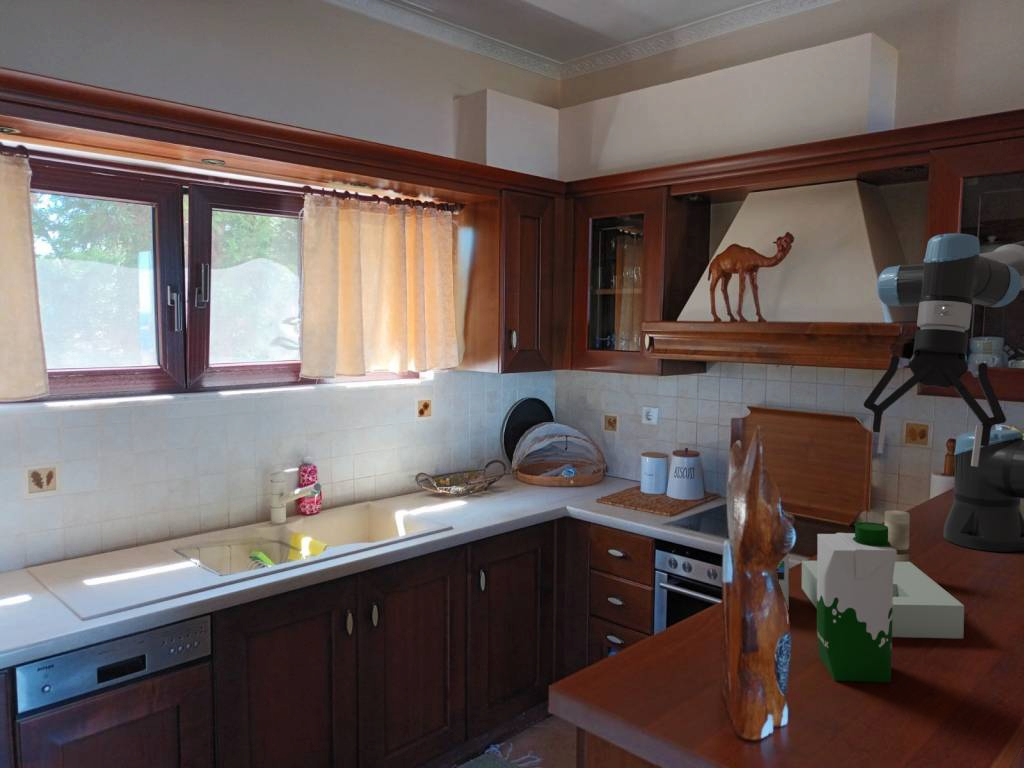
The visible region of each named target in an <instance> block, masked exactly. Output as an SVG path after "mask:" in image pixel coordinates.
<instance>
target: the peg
mask: <svg viewBox="0 0 1024 768" xmlns="http://www.w3.org/2000/svg"><path fill="white" fill-rule="evenodd" d="M910 517H911V515H910V513H909V512H907V511H903V510H897V509H896V510H895V509H894V510H893V509H892V510H886V511H884V525H885V526H887V527H888V541H889V542H890V544H891V546H893V547H894V549H895V550H896V551H897V553H896V560H895V562H910V561H909V560H910V523H911V522H910Z"/></svg>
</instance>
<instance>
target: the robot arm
mask: <svg viewBox="0 0 1024 768" xmlns="http://www.w3.org/2000/svg"><path fill="white" fill-rule="evenodd" d="M980 243H981V242H980V240H979V238H978V237H977V236H975V235H972V234H968V233H955V232H954V233H944V234H943V233H942V234H937V235H935V236H933V237H931V238H930V239H929V240H928V242H927V246H926V251H925V256H924V258H923V262H922V263H915V264H905V265H904V264H899V265H897V266H896V265H895V266H894V265H893V266H889V267H886V268H885V269H883V270H882V272H881V273H880V274H879V275H878V278H877V282H876V286H877V295H878V298H879V299H880V301H881V302H882V303H883V304H884V305H886V306H890V307H900V308H902V307H910V306H911V307H913V306H915V307H917V306H918V313H917V320H916V326H917V327H918V328H919V329H918V330H917V331H915V335H914V342H913V353H912V356H911V357H910V358H905V357H904V358H903V357H899V356H898V355H893V356H891V359H890V363H889V367H888V369H887V370H886V371H885V373H884V375H883V376H882V377H881V379H879V381H878V383H877V384H876V385H875V387H874V388H873V390H872V391H871V393H869V395H868V396H867V398H866V399H865V401H863V407H864V408H866V409H867V410H870V411H872V412H873V424H872V432H873V433H877V434H878V433H879V434H878V435H879V437H878V444H877V454H881V455H882V454H883V452H884V446H885V439H886V438H885V437H886V429H887V424H888V423H887V422H888V414H884V411H886V410H887V409H889V407H891V406H892V405H893V404H894V403H896V402H897V401H898V400H899V399H900V398H902V396H904V395H905V394H907V393H908V392H909V391H911V389H912V388H914V387H915V386H916V385H918V383H919V384H920V385H921V386H924V387H938V388H940V389H941V388H943V389H946V388H950V387H953V388H954V390H955V392H957V393H958V395H959V396H960V397H961V399H962V400H963V401H964V403H965V404H966V405H967V406H968V408H969V409H970V410H971V412H972V413H973V414H974V415H975V416H976V418H977V420H979V421H980V422H981V425H979V424H978V425H977V424H976V425H975V431H967V432H964V433H961V434H960V435H959V434H958V436H957V438H956V440H955V448H954V453H953V455H954V489H953V490H954V492H953V494H954V495H953V496H954V497H953V504H952V505H951V508H950V511H949V513H948V516H947V518H946V521H945V523H944V525H943V538H944V539H945V540H946V541H947V542H950V543H951V544H954V545H957V546H961V547H965V548H968V549H973V550H980V551H988V552H1004V553H1005V552H1006V553H1007V552H1010V553H1011V552H1020V551H1024V515H1023V511H1022V509H1021V499H1024V434H1023V431H1021V430H1016V429H992V427H993V426H995V425H999V424H1001V425H1002V424H1005V422H1007V418H1006V416H1005V413H1004V411H1003V408H1002V406H1001V404H1000V402H999V399H998V398H997V395H996V393H995V391H994V388H993V386H992V383H991V382H990V379H989V375H988V374H989V372H988V371H989V370H988V369H989V367H988V364H987V363H986V362H981V363H967V360H966V358H967V349H968V342H969V341H968V340H969V334H968V333H967V332H965V331H968V330H969V329H970V325H971V318H972V310H973V309H972V307H973V305H980V306H983V307H986V308H987V307H991V308H999V307H1005V306H1006V305H1009V304H1010V303H1011V302H1013V301H1014V300H1016V298H1017V296H1018V295H1019V293H1020V292H1021V291H1024V240H1022V241H1018V242H1017V241H1016V242H1013V243H1008V244H1004V245H1002V246H999V247H997V248H996V249H994V250H993V251H990V252H983V253H981V249H980V248H981V247H980V245H981V244H980ZM906 366H908V367H909V369H910V370H911V372H912V374H913V375H912V376H911V377H910V378H909V379H908V380H906V381H905V382H904V383H903V384H902V385H900V387H898V388H897V389H896V390H895V391H893V392H892V393H891V394H890V395H889V396H888V397H887V398H885V399H884V400H883V401H882V402H880V403H879V404H876V401H877V400H878V399H879V398H880V396H881V394H882V393H883V392H884V390H885V389H886V387H888V385H889V384H890V382H891V381H892V379H893V378H894V377H895V376H896V374H897V372H898V371H901V370H903V369H904V367H906ZM967 371H968V372H970V373H971V376H973V378H977V380H978V383H979V385H980V388H981V390H982V393H983V395H984V397H985V399H986V402H987V404H988V406H989V408H990V411H991V413H992V415H993V416H991V417H990V416H989V415H988V414H987V413H986V412H985V410H984V409H983V407H982V406H981V405H980V404H979V402H978V401H977V400H976V399H975V397H974V396H973V395H972V393H971V392H970V391H969V390H968V389H967V387H966V385H965V384H964V383H963V382H962V380H961V379H960V378H962V377H963V376H964V375H965V374H966V373H967Z"/></svg>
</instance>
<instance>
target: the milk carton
mask: <svg viewBox="0 0 1024 768" xmlns="http://www.w3.org/2000/svg"><path fill="white" fill-rule="evenodd" d="M854 526H855V527H854V533H851V532H847V533H845V532H836V533H817V557H816V558H817V559H816V561H817V609H816V633H817V634H816V635H817V637H816V638H817V645H818V646H817V647H818V658H819V659H820V661H821V662H822V664H823V665H824V666H825V668H826V670H827V672H829V674H830V676H831V677H832V679H833V680H834V681H835V682H863V683H864V682H865V683H866V682H868V683H869V682H870V683H871V682H872V683H891V681H892V679H891V677H892V652H893V651H892V648H893V637H892V613H893V574H894V567H895V560H896V553H897V551H896V550H895V549H894V547H893V546H891V544H890V542H889V541H888V527H887V526H885V524H881V523H877V522H867V521H866V522H864V521H863V522H858V523H855V525H854Z"/></svg>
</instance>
